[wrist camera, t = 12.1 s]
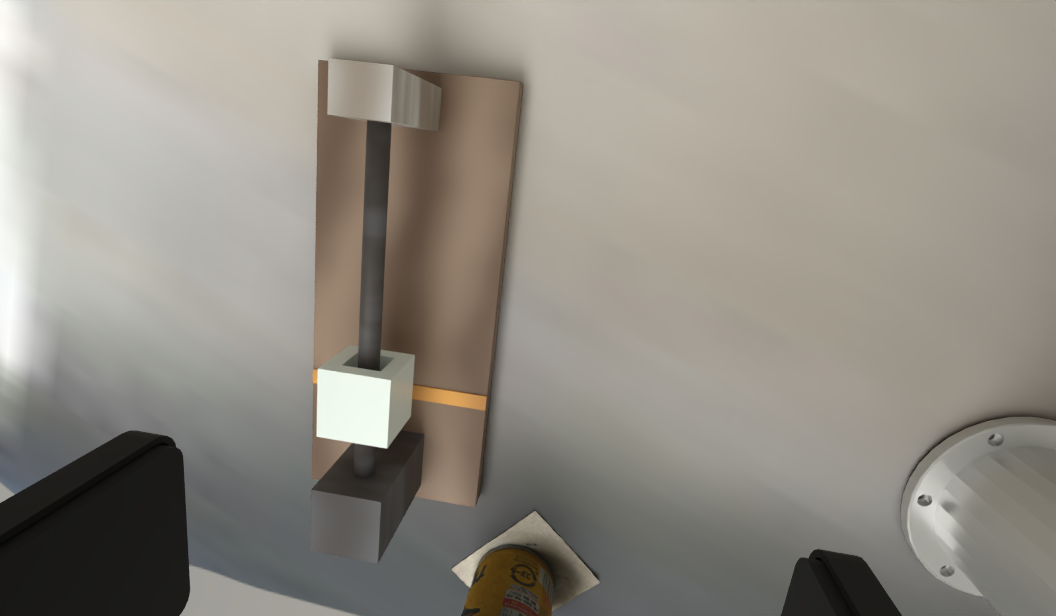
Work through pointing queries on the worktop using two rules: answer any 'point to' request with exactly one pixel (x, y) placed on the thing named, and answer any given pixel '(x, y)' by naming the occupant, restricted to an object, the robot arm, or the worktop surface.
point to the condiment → (523, 573)
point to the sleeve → (364, 398)
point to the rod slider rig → (408, 281)
